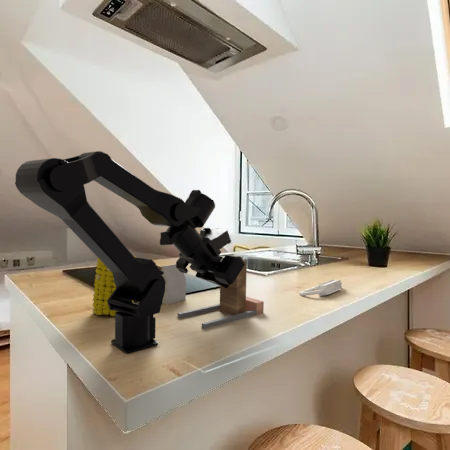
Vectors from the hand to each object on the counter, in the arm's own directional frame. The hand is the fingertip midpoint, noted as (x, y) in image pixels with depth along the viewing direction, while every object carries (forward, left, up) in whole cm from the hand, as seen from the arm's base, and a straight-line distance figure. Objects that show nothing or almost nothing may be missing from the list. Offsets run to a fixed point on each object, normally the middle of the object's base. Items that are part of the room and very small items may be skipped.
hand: (227, 286), depth 86 cm
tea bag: (-4, +18, -7) cm, 20 cm away
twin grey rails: (-2, 0, -7) cm, 7 cm away
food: (-20, +18, -7) cm, 28 cm away
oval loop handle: (+39, -1, -7) cm, 40 cm away
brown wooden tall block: (+2, 0, -7) cm, 7 cm away
